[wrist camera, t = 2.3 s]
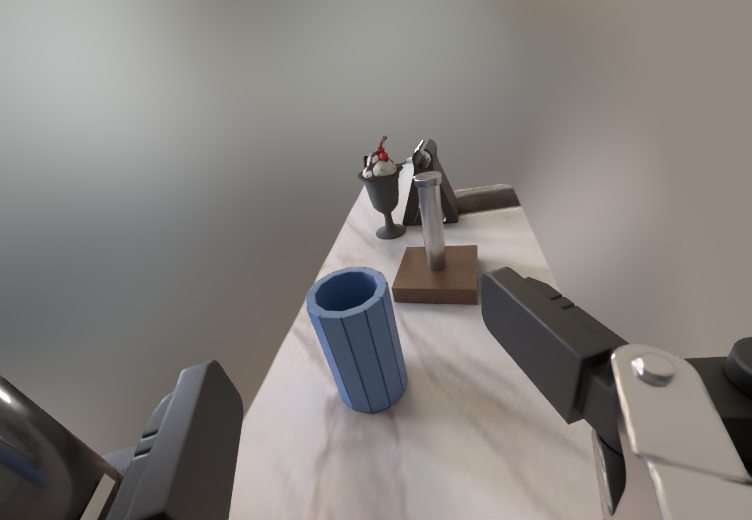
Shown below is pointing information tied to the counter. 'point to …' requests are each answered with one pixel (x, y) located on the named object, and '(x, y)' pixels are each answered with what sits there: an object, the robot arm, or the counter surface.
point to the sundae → (383, 189)
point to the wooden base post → (435, 257)
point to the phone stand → (446, 193)
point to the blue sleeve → (359, 336)
